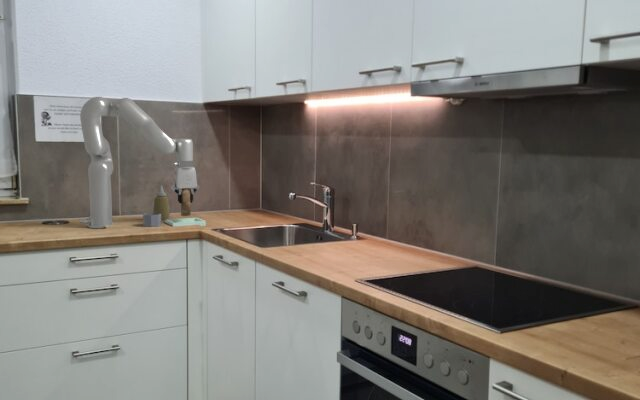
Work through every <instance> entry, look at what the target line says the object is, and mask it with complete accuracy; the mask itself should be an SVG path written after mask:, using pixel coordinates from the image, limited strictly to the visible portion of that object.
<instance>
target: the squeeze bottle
mask: <svg viewBox="0 0 640 400" xmlns="http://www.w3.org/2000/svg"><path fill="white" fill-rule="evenodd" d="M153 203H154V204H153V212H152V213H160V214H161V221H165V220H167V219H169V218H170V214H171V212H170V204H169V197H167V192H165V190H164V187H163V185H159V188H158V192H157V191H156V196H155V197H154V201H153Z"/></svg>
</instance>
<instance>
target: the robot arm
mask: <svg viewBox="0 0 640 400" xmlns="http://www.w3.org/2000/svg"><path fill="white" fill-rule="evenodd" d="M79 115H80V116H79V117H80V118H79V119H80V124H81V131H82V136H83V137H82V138H83V141H84V142H83V143H84V148H85V151H86V152H87V154H88V155H89V156H90V160H91V161H90V164H89V165H88V168H87V175H88V185H89V186H88V188H89V189H88V190H89V212H90V213H89V215H90V216H88V218H82V219H81V218H80V219H79V224H86V227H87V228H90V229H107V227H110V226H115V225H116V222H113V208H112V207H113V206H112V205H113V204H112V202H113V201H112V200H113V199H112V181H111V179H112V177H111V176H112V174H113V172H114V162H113V156H112V152H111V146H110V143H109V141H108V139H106V138H105V137H104V134H103V127H102V123H101V117H119V118H121V117H123V118H124V120H125V121H127V122H128V123H129V125H131V126H132V127H133V128H134V129H136V130H137V132H138V133H140V135H142V136H143V137H144V138H146V139H147V140H148V141H149V142H150V143H151V144H152V145H153V146H154V147H155V148H156V149H157V150H159V151H160V153H162V154H163V155H171V154H176V161H175V162H173V165H174V166H176V167H175V170H174V176H173V177H174V178H173V183H172V185H171V186H170V189H171V190H172V191H173V192H175V194H177V201H178V203H179V204H181V203H182V195H181V192H182V189H188V188H190V204H191V203H193V201H194V195H195V193H196V191H197V190H199V189H200V188H201V187H200V185H199V183H198V181H197V171H196V167H194V161H193V160H194V152H193V151H194V149H193V147H194V145H193V139H191V138H170V137H169V135H167V134H166V133H165V131H163V130H162V129H161V128H160V127H159V126H158V125H157V123H156V121H154V119H153V118H152V117H151V116H149V114H148V113H146V112H145V111H144V110H143V109H142V108H141V107H140V106H139V105H138V104H137V103H136V102H135V101H134V100H133V99H131V98H128V97H122V98H109V97H108V98H107V97H102V96H94V97H92V98H89V99H88V100H87V101H86V102H85V103H84V104H83V105H82V107H81V110H80V114H79Z"/></svg>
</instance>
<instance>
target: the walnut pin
mask: <svg viewBox="0 0 640 400" xmlns="http://www.w3.org/2000/svg"><path fill="white" fill-rule="evenodd" d="M181 195H182V203H180V215H181V216H182V217H190V216H191V202H190V188H188V189H182V192H181Z"/></svg>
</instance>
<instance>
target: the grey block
mask: <svg viewBox="0 0 640 400" xmlns="http://www.w3.org/2000/svg"><path fill="white" fill-rule="evenodd" d="M142 227H143V228H144V227H145V228H158V227H162V220H161V214H160V213H153V212H146V213H143V214H142Z"/></svg>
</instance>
